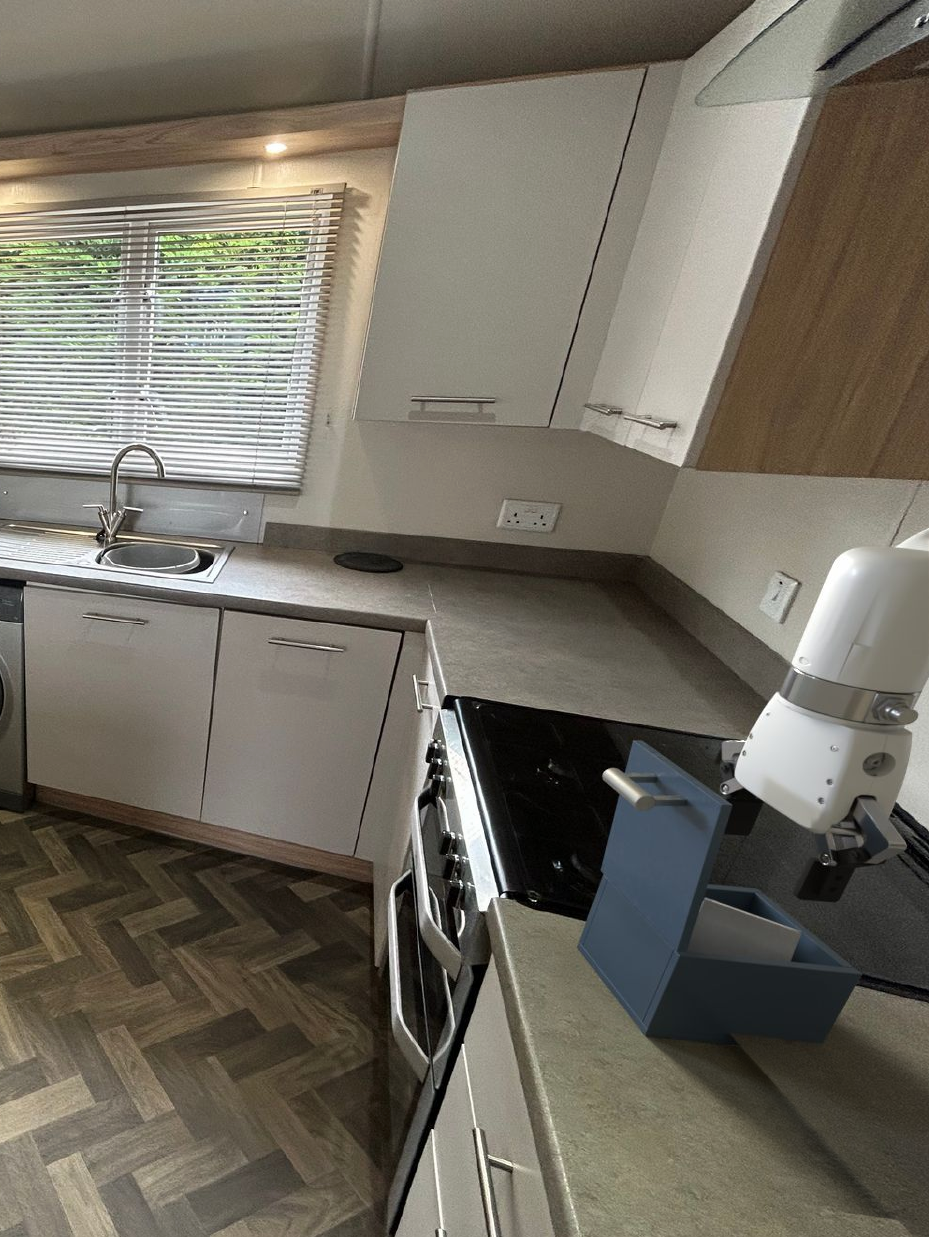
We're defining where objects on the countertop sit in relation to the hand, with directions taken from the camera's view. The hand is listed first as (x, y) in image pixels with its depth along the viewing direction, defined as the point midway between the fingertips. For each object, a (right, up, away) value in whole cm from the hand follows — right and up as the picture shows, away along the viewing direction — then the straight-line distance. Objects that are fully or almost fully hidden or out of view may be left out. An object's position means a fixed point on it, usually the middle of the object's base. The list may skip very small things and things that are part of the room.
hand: (768, 863), depth 67 cm
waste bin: (-2, -15, +6) cm, 17 cm away
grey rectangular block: (0, -15, +6) cm, 16 cm away
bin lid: (-9, +2, +1) cm, 9 cm away
